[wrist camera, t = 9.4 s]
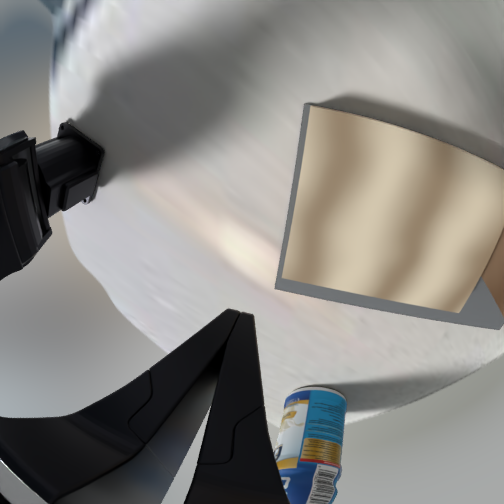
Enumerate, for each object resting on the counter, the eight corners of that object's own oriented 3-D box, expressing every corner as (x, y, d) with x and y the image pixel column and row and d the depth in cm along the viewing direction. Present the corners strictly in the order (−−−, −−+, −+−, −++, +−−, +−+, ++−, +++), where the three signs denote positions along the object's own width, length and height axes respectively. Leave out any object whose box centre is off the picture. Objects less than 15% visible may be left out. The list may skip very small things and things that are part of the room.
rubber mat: (275, 286, 24) (274, 288, 24) (304, 103, 16) (304, 103, 16) (498, 328, 21) (499, 330, 20) (561, 204, 12) (563, 206, 12)
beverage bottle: (350, 412, 33) (331, 543, 17) (292, 414, 36) (261, 537, 20) (345, 381, 29) (323, 545, 13) (277, 384, 32) (235, 533, 16)
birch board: (285, 261, 22) (281, 277, 21) (311, 105, 16) (310, 106, 14) (452, 296, 20) (459, 313, 18) (505, 170, 14) (520, 179, 12)
